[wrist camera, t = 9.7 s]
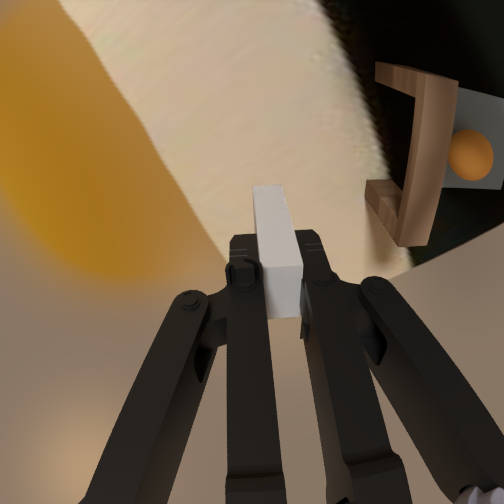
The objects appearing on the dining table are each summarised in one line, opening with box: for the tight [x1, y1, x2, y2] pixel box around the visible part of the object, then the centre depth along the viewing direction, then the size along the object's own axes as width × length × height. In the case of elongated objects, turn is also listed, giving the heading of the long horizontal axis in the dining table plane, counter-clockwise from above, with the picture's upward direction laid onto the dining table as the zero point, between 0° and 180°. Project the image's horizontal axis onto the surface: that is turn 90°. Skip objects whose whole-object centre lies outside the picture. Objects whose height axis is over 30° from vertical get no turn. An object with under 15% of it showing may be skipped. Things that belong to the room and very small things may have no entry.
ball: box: [448, 129, 494, 181], centre depth 27 cm, size 6×6×6 cm
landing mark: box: [442, 87, 504, 190], centre depth 29 cm, size 12×12×1 cm
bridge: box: [365, 61, 459, 247], centre depth 25 cm, size 3×14×9 cm, turn 3°
